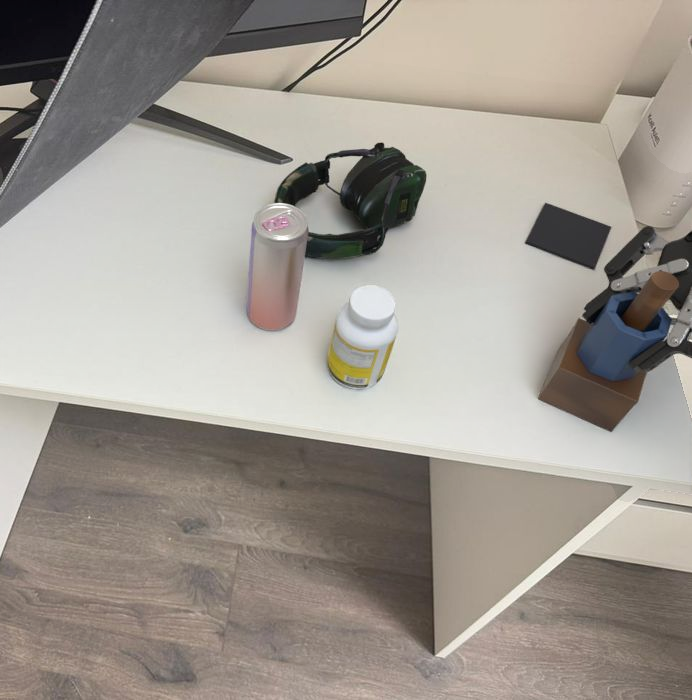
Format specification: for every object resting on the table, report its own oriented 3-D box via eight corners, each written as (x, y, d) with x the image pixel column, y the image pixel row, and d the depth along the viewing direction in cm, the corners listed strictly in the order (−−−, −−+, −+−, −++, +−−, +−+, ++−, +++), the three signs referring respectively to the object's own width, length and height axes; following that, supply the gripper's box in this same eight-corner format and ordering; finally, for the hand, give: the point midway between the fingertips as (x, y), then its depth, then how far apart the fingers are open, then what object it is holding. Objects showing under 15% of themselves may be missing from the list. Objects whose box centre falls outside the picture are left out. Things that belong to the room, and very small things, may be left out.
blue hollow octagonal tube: (641, 350, 75) (675, 307, 70) (629, 389, 72) (664, 347, 67) (586, 328, 77) (615, 284, 72) (572, 364, 74) (601, 322, 68)
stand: (627, 380, 80) (718, 270, 66) (611, 432, 76) (704, 326, 62) (557, 350, 83) (630, 238, 68) (537, 399, 79) (611, 290, 64)
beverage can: (238, 304, 86) (242, 210, 74) (281, 289, 88) (292, 195, 76) (260, 339, 83) (268, 247, 71) (304, 323, 84) (320, 230, 73)
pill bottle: (375, 343, 83) (396, 275, 74) (389, 389, 79) (413, 323, 70) (320, 348, 82) (335, 280, 73) (332, 394, 78) (349, 328, 69)
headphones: (362, 127, 98) (245, 195, 94) (417, 106, 86) (285, 184, 82) (402, 213, 102) (290, 283, 97) (460, 204, 89) (335, 284, 85)
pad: (610, 228, 95) (611, 226, 95) (593, 269, 91) (595, 267, 90) (544, 204, 98) (545, 202, 98) (524, 243, 93) (526, 241, 93)
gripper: (700, 163, 66) (551, 285, 73) (834, 266, 58) (653, 392, 65) (710, 193, 72) (570, 303, 78) (833, 290, 64) (667, 404, 71)
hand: (609, 343), depth 72 cm, fingers closed on blue hollow octagonal tube, 6 cm apart
